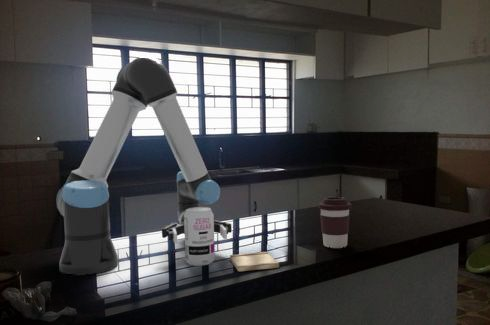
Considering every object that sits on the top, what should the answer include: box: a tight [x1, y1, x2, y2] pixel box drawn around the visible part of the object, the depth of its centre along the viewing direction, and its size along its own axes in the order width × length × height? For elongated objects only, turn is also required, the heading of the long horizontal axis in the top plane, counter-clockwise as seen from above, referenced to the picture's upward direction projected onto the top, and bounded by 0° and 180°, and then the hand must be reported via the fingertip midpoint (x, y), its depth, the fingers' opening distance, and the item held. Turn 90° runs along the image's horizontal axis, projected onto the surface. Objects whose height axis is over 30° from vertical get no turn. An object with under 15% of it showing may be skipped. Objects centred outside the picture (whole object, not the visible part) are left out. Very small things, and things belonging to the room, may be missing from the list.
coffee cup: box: [318, 196, 352, 249], centre depth 130 cm, size 10×10×15 cm
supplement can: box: [184, 206, 216, 267], centre depth 117 cm, size 8×8×15 cm
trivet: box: [229, 251, 280, 272], centre depth 114 cm, size 11×11×1 cm
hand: (200, 236), depth 113 cm, fingers open, 13 cm apart
